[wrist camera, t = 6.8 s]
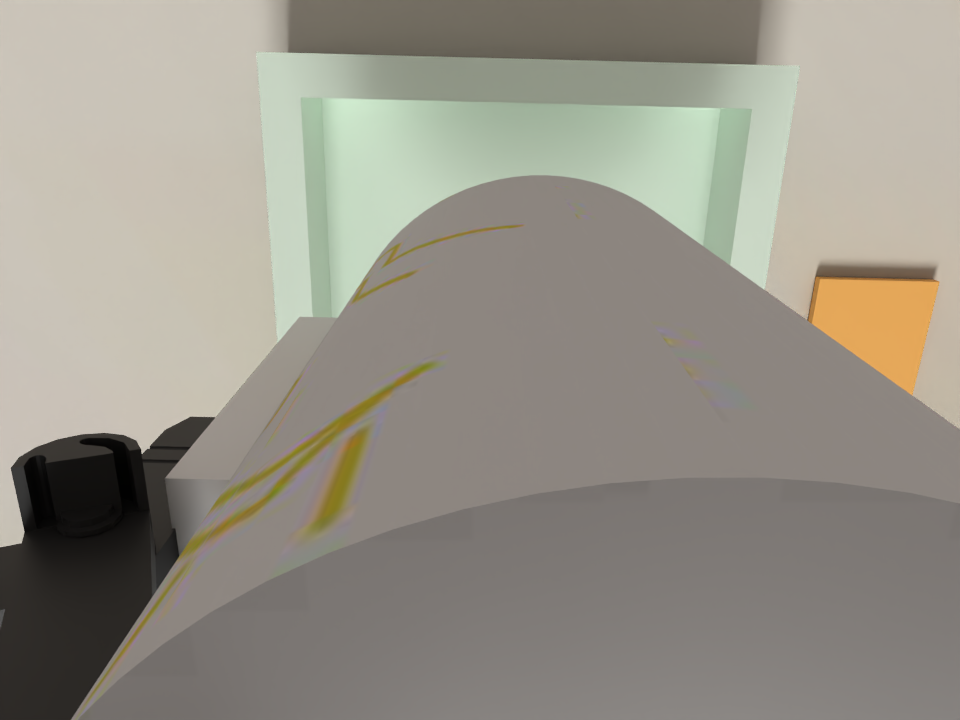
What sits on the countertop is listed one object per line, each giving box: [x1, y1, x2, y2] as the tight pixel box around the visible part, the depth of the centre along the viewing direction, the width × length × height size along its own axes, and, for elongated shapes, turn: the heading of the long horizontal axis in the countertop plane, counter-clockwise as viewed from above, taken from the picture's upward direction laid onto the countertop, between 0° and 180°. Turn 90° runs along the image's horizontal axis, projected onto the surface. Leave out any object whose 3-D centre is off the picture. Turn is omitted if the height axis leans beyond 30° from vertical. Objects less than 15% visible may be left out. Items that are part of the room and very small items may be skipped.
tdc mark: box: [808, 277, 939, 395], centre depth 23 cm, size 4×4×1 cm
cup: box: [71, 175, 960, 720], centre depth 10 cm, size 8×8×12 cm
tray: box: [256, 52, 800, 343], centre depth 21 cm, size 13×13×3 cm
